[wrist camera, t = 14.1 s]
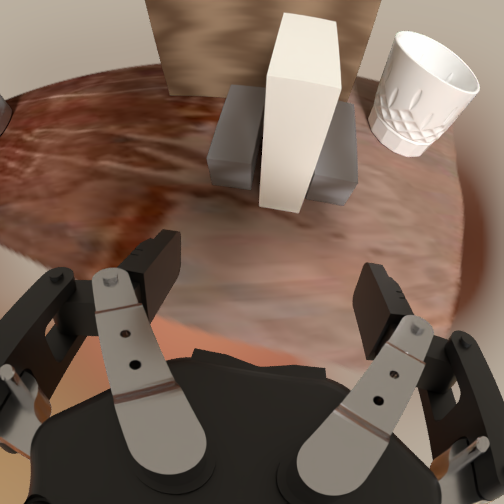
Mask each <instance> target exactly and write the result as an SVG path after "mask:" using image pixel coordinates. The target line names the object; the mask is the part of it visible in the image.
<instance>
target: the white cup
mask: <svg viewBox="0 0 504 504" xmlns="http://www.w3.org/2000/svg"><path fill="white" fill-rule="evenodd" d="M479 90H480V85H479V82H478V80H477V78H476V76H475V75H474V73H473V72H472V70H471V69H470V68H469V67H468V66H467V65H466V64H465V62H463V61H462V60H461V59H460V58H459V57H458V56H457V55H456V54H455V53H453V52H452V51H451V50H449V49H448V48H446V47H445V46H443V45H442V44H440V43H439V42H437V41H435V40H433V39H431V38H429V37H427V36H424V35H421V34H418V33H415V32H411V31H400V32H398V33H397V34H396V35H395V39H394V42H393V45H392V48H391V51H390V54H389V57H388V60H387V62H386V66H385V68H384V71H383V74H382V77H381V80H380V82H379V86H378V90H377V92H376V95H375V101H374V104H373V107H372V109H371V112H370V115H369V118H368V121H369V124H370V128H371V131H372V132H373V134H374V135H375V136H376V137H377V139H378V140H379V141H380V142H381V143H382V144H383V145H385V146H386V147H387V148H389V149H390V150H391V151H393V152H395V153H397V154H400V155H403V156H406V157H418V156H420V155H421V154H422V153H424V152H425V151H426V150H427V149H428V148H429V147H430V145H431V144H432V143H433V142H434V141H435V140H437V139H438V138H439V137H440V136H441V135H442V134H443V133H444V132H445V131H446V130H447V129H448V128H449V126H450V125H451V124H452V123H453V122H454V121H455V120H456V118H457V117H458V116H459V115H460V114H461V112H462V111H463V110H464V109H465V108H466V107H467V105H468V104H469V103H470V102H471V101H472V99H473V98H474V97H475V95H477V93H478V92H479Z"/></svg>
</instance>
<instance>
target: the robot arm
mask: <svg viewBox="0 0 504 504" xmlns="http://www.w3.org/2000/svg"><path fill="white" fill-rule="evenodd" d="M11 114H12V110H11V108H10V106H9V105H8V104H7V103H6V101H5V100H4V99H3V98H2V96H1V95H0V135H1V134H2V132H3V131H4V129H5V128H6V126H7V124H8V122H9V120H10V118H11ZM180 267H181V234H180V232H178V231H171V230H165V229H163V230H161V232H160V233H159V234H158V235H157V236H156V237H155V238H154V239H151V238H150V239H148V240H146V241H143V242H141V243H140V244H139V245H138V246H137V247H136V248H135V250H133V251H132V252H131V254H130V255H129V256H128V257H127V258H126V259H125V260H124V261H123V262H122V263H121V264H120V265H119V266H118V267H117V268H107V269H103V270H101V271H99V272H97V273H96V274H95V275H94V276H93V278H92V280H75V278H74V273H73V271H72V270H71V269H69V268H66V267H58V268H54V269H51V270H49V271H47V272H46V273H45V274H44V275H42V276H41V278H40V279H38V280H37V281H36V282H35V283H34V284H33V285H32V286H31V288H30V289H28V291H27V292H26V293H25V294H24V295H23V296H22V297H21V298H20V299H19V300H18V301H17V302H16V303H15V304H14V305H13V306H12V308H11V309H10V310H9V311H8V312H7V313H6V314H5V315H4V316H3V318H2V319H1V320H0V447H2V448H3V449H4V450H5V451H7V452H9V453H12V454H16V453H19V454H21V455H22V456H24V457H26V458H27V459H29V460H30V462H31V479H30V488H29V494H28V497H27V499H26V501H25V503H24V504H488V503H490V502H492V501H494V500H495V499H497V498H499V497H500V496H502V495H504V401H503V399H502V396H501V394H500V391H499V389H498V386H497V384H496V382H495V379H494V377H493V375H492V373H491V371H490V369H489V366H488V364H487V362H486V360H485V358H484V356H483V354H482V352H481V350H480V348H479V346H478V344H477V342H476V341H475V340H474V338H473V337H472V336H470V335H469V334H467V333H466V332H463V331H454V332H453V333H452V335H451V336H450V338H449V339H448V340H447V339H444V338H441V337H438V336H435V335H434V331H433V328H432V326H431V325H430V324H429V323H428V322H427V321H426V320H424V319H423V318H421V317H418V316H415V315H414V314H413V312H412V310H411V308H410V306H409V304H408V302H407V300H406V299H405V296H404V294H403V293H402V290H401V288H400V286H399V285H398V284H397V283H396V282H395V281H394V280H393V279H392V278H391V277H389V276H388V274H387V272H386V271H385V269H384V267H383V265H380V264H374V263H368V262H366V263H365V264H364V266H363V268H362V271H361V274H360V277H359V280H358V283H357V286H356V288H355V291H354V295H353V308H354V312H355V316H356V319H357V323H358V327H359V331H360V335H361V339H362V343H363V347H364V351H365V356H366V360H374V361H373V362H372V363H371V365H370V366H369V368H368V369H367V370H366V372H365V373H364V374H363V376H362V377H361V379H360V380H359V381H358V382H357V384H356V385H355V386H354V388H353V389H352V390H351V391H350V390H349V389H348V388H347V387H345V386H344V385H342V384H339V383H338V382H336V381H333V380H331V379H328V378H326V371H325V368H319V367H308V366H300V365H287V366H270V367H258V366H255V365H253V364H250V363H247V362H245V361H242V360H239V359H237V358H234V357H232V356H229V355H226V354H221V353H215V352H210V351H206V350H201V349H196V348H195V349H194V351H193V354H192V357H185V358H176V359H171V360H167V361H165V359H164V356H163V354H162V352H161V350H160V347H159V345H158V343H157V340H156V338H155V335H154V333H153V331H152V328H151V326H150V324H151V322H152V320H153V318H154V317H155V315H156V313H157V312H158V310H159V308H160V306H161V305H162V303H163V301H164V300H165V298H166V296H167V294H168V293H169V291H170V289H171V288H172V286H173V284H174V283H175V281H176V279H177V278H178V275H179V272H180ZM52 318H53V319H54V322H55V324H54V326H53V327H52V328H51V330H50V331H49V333H48V334H47V335H46V336H45V330H46V327H47V325H48V324H49V322H50V321H51V319H52ZM87 336H99V340H100V345H101V350H102V354H103V359H104V363H105V368H106V372H107V376H108V380H109V384H110V387H111V388H110V389H108V390H106V391H104V392H102V393H100V394H98V395H96V396H94V397H92V398H89V399H87V400H85V401H83V402H81V403H79V404H77V405H75V406H73V407H70V408H68V409H66V410H64V411H62V412H60V413H57V414H55V415H53V416H51V417H50V415H51V404H50V401H49V400H50V398H51V396H52V395H53V393H54V391H55V389H56V387H57V385H58V384H59V382H60V380H61V378H62V377H63V375H64V373H65V372H66V370H67V368H68V366H69V365H70V363H71V361H72V360H73V358H74V356H75V355H76V353H77V352H78V350H79V348H80V347H81V345H82V343H83V342H84V340H85V339H86V337H87ZM456 381H457V382H458V385H459V388H460V391H461V395H460V400H459V402H458V403H457V404H456V402H455V399H454V395H453V392H452V389H451V387H452V386H453V385H454V384H455V382H456ZM415 387H418V390H419V394H420V398H421V402H422V406H423V411H424V415H425V420H426V425H427V429H428V435H429V440H430V446H431V452H432V458H433V461H432V463H431V465H430V469H429V468H428V467H427V466H426V465H425V464H424V463H423V462H422V461H421V460H420V459H419V458H418V457H417V456H416V455H415V454H414V453H413V452H412V451H411V450H410V449H409V448H408V447H407V446H406V445H405V444H404V443H403V442H402V441H401V440H400V439H399V438H397V436H396V435H395V434H394V433H393V430H394V428H395V426H396V425H397V423H398V421H399V419H400V417H401V415H402V414H403V412H404V410H405V408H406V406H407V404H408V402H409V400H410V397H411V396H412V393H413V391H414V389H415Z"/></svg>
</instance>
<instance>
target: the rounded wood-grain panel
mask: <svg viewBox="0 0 504 504" xmlns="http://www.w3.org/2000/svg"><path fill="white" fill-rule="evenodd" d="M145 3H146V6H147V11H148V15H149V19H150V22H151V27H152V30H153V34H154V38H155V42H156V46H157V50H158V54H159V57H160V61H161V65H162V68H163V72H164V76H165V79H166V83H167V86H168V90H169V94H170V95H175V96H207V97H223V98H226V101H225V103H224V106H223V109H222V112H221V115H220V118H219V121H218V124H217V127H216V130H215V133H214V136H213V139H212V143H211V146H210V149H209V152H208V155H207V163H208V168H209V172H210V177H211V181H212V185H218V186H226V187H233V188H240V189H247V190H251V187H252V182H253V177H254V172H255V167H256V162H257V157H258V152H259V147H260V142H261V137H262V132H263V127H264V114H265V97H266V80H267V73H268V69H269V65H270V61H271V58H272V54H273V50H274V46H275V43H276V39H277V35H278V32H279V28H280V24H281V21H282V17H283V14H284V13H291V14H298V15H304V16H310V17H316V18H321V19H326V20H330V21H335V22H336V25H337V35H338V45H339V57H340V71H341V92H340V95H339V98H338V101H337V105H336V108H335V111H334V114H333V117H332V120H331V123H330V126H329V129H328V132H327V135H326V138H325V141H324V143H323V146H322V149H321V152H320V155H319V158H318V161H317V164H316V167H315V170H314V172H313V175H312V178H311V181H310V184H309V187H308V189H307V192H306V199H309V200H315V201H320V202H325V203H331V204H336V205H341V206H344V204H345V203H346V201H347V200H348V198H349V196H350V195H351V193H352V192H353V190H354V189H355V187H356V185H357V184H358V163H357V139H356V123H355V110H354V104H351V103H347V101H348V98H349V95H350V93H351V90H352V87H353V84H354V81H355V79H356V76H357V73H358V70H359V67H360V64H361V61H362V58H363V55H364V52H365V49H366V46H367V43H368V40H369V37H370V34H371V31H372V28H373V25H374V22H375V19H376V16H377V12H378V9H379V6H380V3H381V0H145Z"/></svg>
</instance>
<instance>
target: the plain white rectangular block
mask: <svg viewBox="0 0 504 504" xmlns="http://www.w3.org/2000/svg"><path fill="white" fill-rule="evenodd" d="M340 92H341V71H340V57H339V45H338V35H337V25H336V22H335V21H330V20H326V19H321V18H316V17H310V16H304V15H298V14H291V13H284V14H283V17H282V21H281V24H280V28H279V32H278V35H277V39H276V43H275V46H274V50H273V54H272V58H271V61H270V65H269V69H268V73H267V80H266V97H265V114H264V131H263V147H262V163H261V179H260V195H259V207H265V208H271V209H277V210H283V211H289V212H295V213H299V212H300V209H301V206H302V203H303V201H304V198H305V195H306V192H307V189H308V187H309V184H310V181H311V178H312V175H313V172H314V170H315V167H316V164H317V161H318V158H319V155H320V152H321V149H322V146H323V143H324V141H325V138H326V135H327V132H328V129H329V126H330V123H331V120H332V117H333V114H334V111H335V108H336V105H337V101H338V98H339V95H340Z"/></svg>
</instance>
